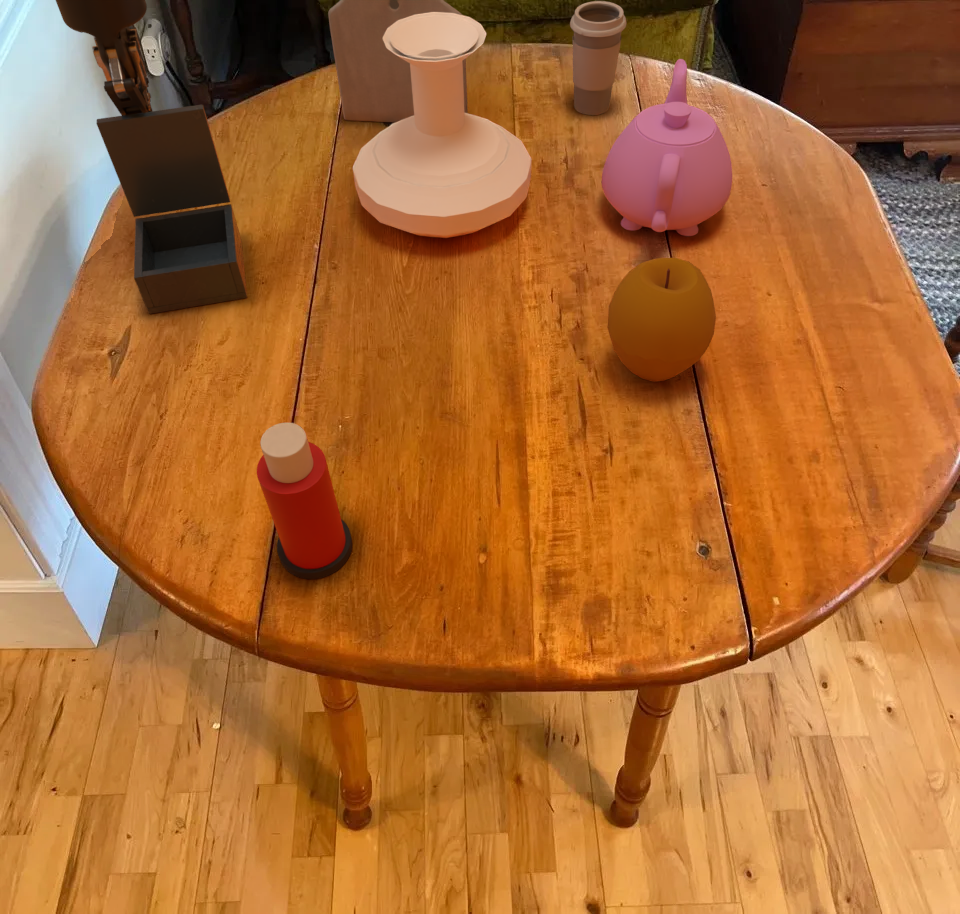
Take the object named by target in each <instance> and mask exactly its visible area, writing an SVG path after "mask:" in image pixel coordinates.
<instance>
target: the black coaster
mask: <svg viewBox="0 0 960 914" xmlns="http://www.w3.org/2000/svg"><path fill="white" fill-rule="evenodd" d="M341 521H342V525H343V529H344V533H345V538H346V541H345V547H344V549H343V551H342V553H341V554H340V556H339V557H338V558H337V559H336V560H335V561H333V562H332V563H330V564H329V565H327V566H324V567H321V568H317V569H305V568H301V567H298V566H296V565H294V564H293V563H291V562H290V561H289V560H288V558H287V557H286V555H285V552H284V550H283V547H282V544H281V541H280V538H279V537H277V541H276V553H277V555H278V558H279V560H280V563H281V565H282V566H283V568H284V569H285V570H286V572H288V573H289V574H291V575H293V576H295V577H296V578H301V579H304V580H318V579H322V578H326V577H328V576H331V575H332V574H335V573H336V572H338V571H339V570H340V569H341V568H342V567H343V566H344V565H345V564H346V563H347V561H348V560H349V558H350V556H351V554H352V550H353V539H352V534H351V530H350V528H349V526H348V525H347V523H346V522H345V521H344V520H343V519H342V518H341Z"/></svg>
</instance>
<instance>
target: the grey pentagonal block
mask: <svg viewBox="0 0 960 914" xmlns="http://www.w3.org/2000/svg"><path fill="white" fill-rule="evenodd" d="M430 12H444V13H455V14H459V15H463V14H462V13H461V12H460V11H458V10H457V9H456V8H455V7H453V6H451V5H450V4H449V3H448V2H447V1H445V0H339V1H338V2H336V3H335V4H334V5H333V6H331V8H330V9H328V13H327V15H328V22H329V23H328V24H329V31H330V36H331V38H330V39H331V43H332V49H333V57H334V63H335V70H336V75H337V76H336V77H337V82H338V89H339V96H340V101H341V109H342V114H343V115H342V116H343V119H344V120H345V121H350V122H351V121H355V122H372V123H373V122H376V123H377V122H378V123H392V124H393V123H396V122H398V121H400V120H403V119H406V118H408V117H411V116H413V115H414V106H413V94H412V83H411V71H410V63H408V62H407V61H405V60H403V59H402V58H400V57H398V56H397V55H395V54H394V53H393V52H391V51H390V50H388V49H387V48H386V46H385V43H384V41H383V36H384V34H385V32H386V30H387V28H388V27H390V26H391V25H392V24H394V23H395V22H396V21H398V20H400V19H403V18H406V17H409V16H412V15H416V14H423V13H430ZM462 63H463V90H464V113H468V112H469V111H468V85H467V84H468V83H467V57H466V58H465V59H464V60H463V61H462ZM468 114H469V113H468Z"/></svg>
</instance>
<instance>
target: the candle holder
mask: <svg viewBox="0 0 960 914" xmlns="http://www.w3.org/2000/svg"><path fill="white" fill-rule="evenodd" d="M486 36H487V32H486V30H485V28H484V27H483V25H482V24H481V23H480V22H478V21H477V20H475V19H474V18H472V17H471V16H467V15H464V14H462V15H459V14H455V13H444V12H430V13H423V14H416V15H412V16H409V17H406V18H403V19H400V20H398V21H396V22H395V23H394V24H392V25H391V26H390V27H388V28H387V30H386V32H385V34H384V36H383V41H384V43H385V46H386V48H387V49H388V50H390V51H391V52H393V53H394V54H395V55H397V56H398V57H400V58H402V59H403V60H405V61H407V62H408V63H410V71H411V83H412V94H413V106H414V115H413V116H411V117H408V118H406V119H403V120H400V121H398V122H396V123H393V122H392V123H391V124H390V125H389V126H387V127H386V128H384V129H382V130H380V131H379V132H378V133H377V134H376V135H374V137H372V138H371V139H370V140H369V141H368V142H367V143H365V144H364V145H363V146H362V147H361V148H360V150H359V152H358V154H357V156H356V159H355V161H354V163H353V166H352V167H351V168H352V174H353V180H354V187H355V190H356V192H357V196H358V199H359V202H360V205H361V206H362V208H364V210H366V212H368V213H369V214H370V215H371V216H372V217H374V219H376V221H378V223H380V224H383V225H386V226H389V227H393V228H396V229H398V230H401V231H404V232H407V233H410V234H412V235H416V236H419V237H430V238H440V239H441V238H443V239H448V238H453V237H459V236H465V235H469V234H474V233H476V232H478V231H480V230H482V229H484V228H488V227H489V226H491V225H494V224H496V223H498V222H500V221H502V220H504V219H506V218H509V217H511V216H512V214H513V213H515V211H516V210H517V209H518V208H519V207H520V205H521V204H522V203H524V201H525V200H526V199H527V197H528V193H529V188H530V185H531V181H532V180H531V179H532V160H533V159H532V157H531V156H530V153H529V151H528V150H527V148H526V146H525V145H524V143H523V141H522V140H521V139H520V138H518V137H517V136H516V135H514V134H512V132H510V131H508V130H507V129H506V128H504V127H503V126H502V125H499V124H497V123H495V122H493V121H491V120H490V119H488V118H485V117H481V116H478V115H475V114H471V113H464V90H463V63H462V61H463V60H464V59H465V58H466V59H467V58H468V57H469V56H471V55H472V54H473V53H474V52H475V51H476V50H478V49H479V48H480V47H482V46H483V45H484V43H485V40H486Z"/></svg>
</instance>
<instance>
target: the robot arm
mask: <svg viewBox="0 0 960 914" xmlns="http://www.w3.org/2000/svg"><path fill="white" fill-rule="evenodd" d="M55 3H56V5H57V8H58V10H59V13H60V16H61V18H62V20H63V22H64V24H65V25H66V26H67V27H68V28H70V29H71V30H73V31H75V32H78V33H84V34H88V35H90V36H92V37H93V40H94V44H95V45H93V46H92V47H91V48H92V53H93V56H94V59H95V62H96V64H97V66H98V67H99V68H101V69H102V72H103V74H104V77H105V81H103V84H104V85H103V89H104V91H105V92H106V94H107V96H108V98H109V99H110V101H111V102H112V103H113V105H114V107H115V108H116V110H117V111H118V113H119V114H120V116H123V115H130V114H137V113H145V112H152V111H153V108H152V105H151V98H152V95H151V93H150V92H149V89H148V88H149V84H150V81H149V78H148V69H147V66H146V62H145V59H144V57H143V53H142V50H141V44H142V42H141V38H140V35H139V32H138V30H137V26H136V25H135V24H138V22H139V21H141V20H142V19H143V18H144V17H145V15H146V13H147V9H148V7H147V6H148V5H147V1H146V0H55ZM135 26H136V27H135Z"/></svg>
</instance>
